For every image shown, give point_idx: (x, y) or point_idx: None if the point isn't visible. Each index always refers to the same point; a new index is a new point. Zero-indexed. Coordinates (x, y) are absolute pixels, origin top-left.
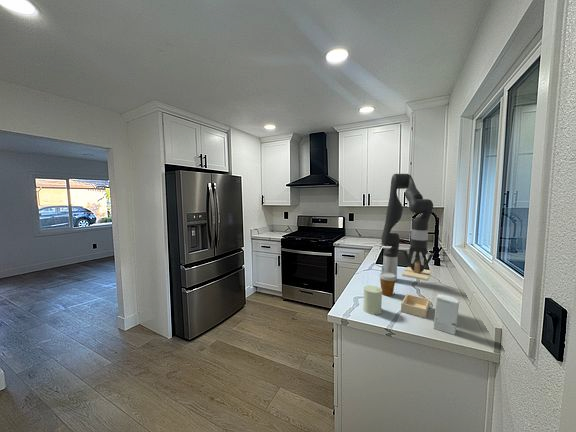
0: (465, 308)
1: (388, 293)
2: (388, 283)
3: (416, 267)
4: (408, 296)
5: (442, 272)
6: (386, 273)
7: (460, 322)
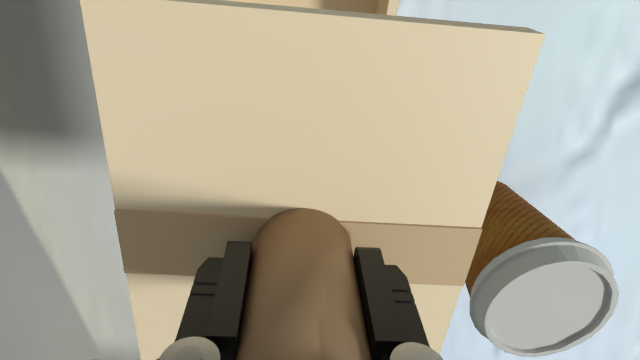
0: (48, 247)
1: None
2: (520, 228)
3: (315, 276)
4: None
5: None
6: (553, 341)
7: (16, 36)
